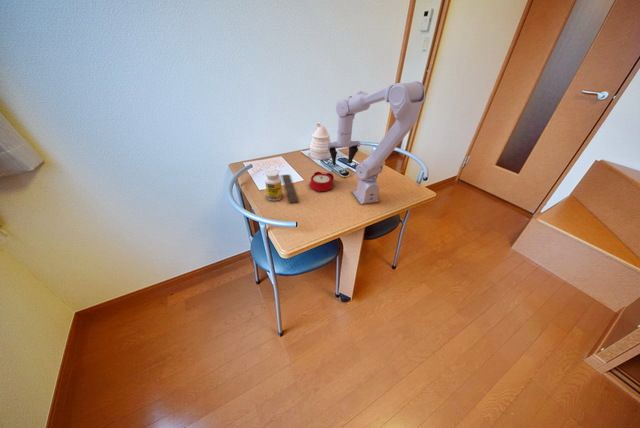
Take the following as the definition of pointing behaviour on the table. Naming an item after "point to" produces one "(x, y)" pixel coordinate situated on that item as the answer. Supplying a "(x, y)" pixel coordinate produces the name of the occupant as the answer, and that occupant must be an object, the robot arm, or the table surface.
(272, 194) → the pill bottle
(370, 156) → the robot arm
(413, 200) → the table surface
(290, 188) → the ruler
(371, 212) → the table surface
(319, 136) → the honey pot
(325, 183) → the alarm clock
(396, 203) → the table surface
